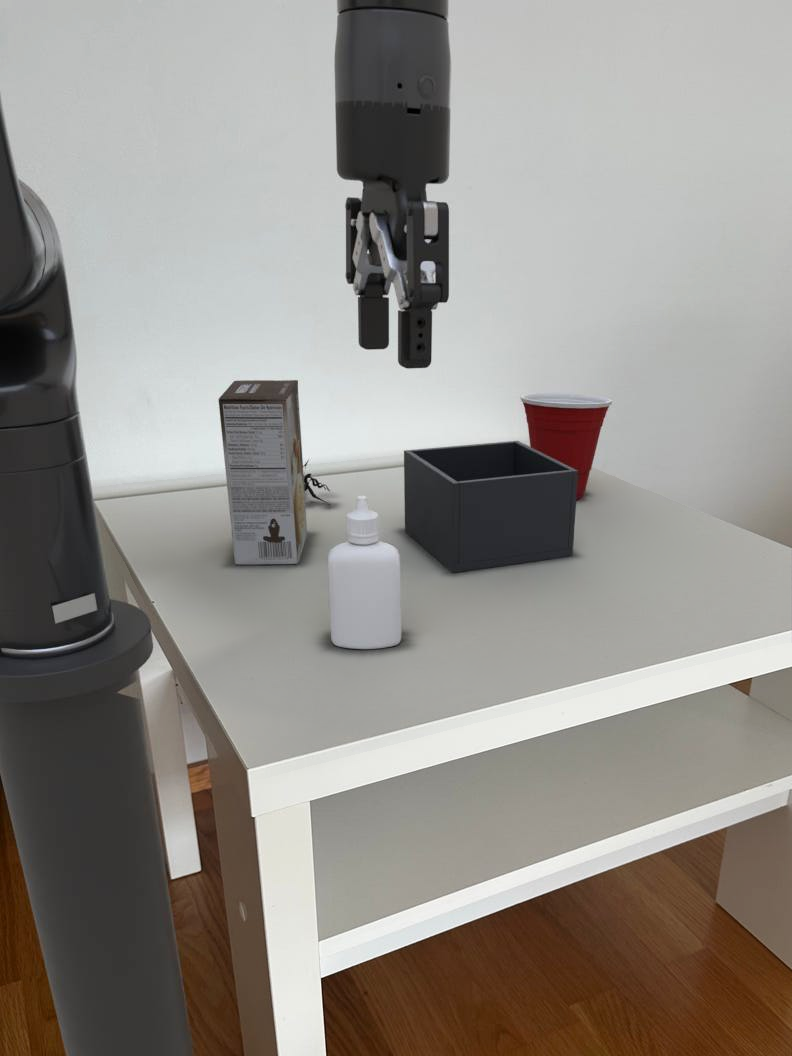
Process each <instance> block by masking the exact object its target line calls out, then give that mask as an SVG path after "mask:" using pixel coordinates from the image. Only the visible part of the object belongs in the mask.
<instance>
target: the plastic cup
mask: <svg viewBox="0 0 792 1056" xmlns="http://www.w3.org/2000/svg"><path fill="white" fill-rule="evenodd" d="M519 398H520V401H521V402H522V404H523V407H524V413H525V416H526V417H525V418H526V423H527V428H528V429H527V431H528V437H529V438H528V439H529V447H531V448H533V449H535V450H537V451H539V452H541V453H543V454H545V455H547V456H549V457H551V458H553V459H555V460H557V461H559V462H561V463H563V464H565V465H567V466H569V467H571V468H573V469H575V470H577V471H578V483H577V497H576V501H577V500H581V499H582V498H583V497H584V494H585V492H586V490H587V486H588V481H589V477H590V472H591V470H592V467H593V463H594V459H595V455H596V452H597V451H596V450H597V446H598V442H599V438H600V434H601V430H602V427H603V425H604V421H605V418H606V416H607V411H608V410H609V409H610V406H611V405H613V400H612V399H611V398H607V397H602V396H597V395H589V394H580V393H579V394H577V393H557V392H555V393H554V392H543V393H542V392H540V393H538V392H536V393H525V394H522V395H519Z"/></svg>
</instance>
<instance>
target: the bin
mask: <svg viewBox="0 0 792 1056" xmlns="http://www.w3.org/2000/svg"><path fill="white" fill-rule="evenodd" d="M403 478H404V479H403V486H404V488H403V491H404V493H403V494H404V532H405V533H406V534H407V535H409V536H410V537H411V538H412V539H413V540H414V541H416V542H417V543H418V544H419V545H420V546H421V547H422V548H424V549H425V550H426V551H427V552H428V553H429V554H430V555H432V556H433V557H434V558H435V559H436V560H438V561H439V562H440V563H441V564H442V565H443V566H444V567H446V568H447V570H449V571H450V572H452V573H453V574H454V573H455V574H456V573H462V572H469V571H475V570H483V569H488V568H490V569H491V568H496V567H503V566H510V565H519V564H524V563H531V562H538V561H539V562H540V561H545V560H553V559H558V558H559V559H560V558H566V557H573V554H574V549H573V548H574V538H575V524H576V511H577V500H576V497H577V483H578V471H577V470H575V469H573V468H571V467H569V466H567V465H565V464H563V463H561V462H559V461H557V460H555V459H553V458H551V457H549V456H547V455H545V454H543V453H541V452H539V451H537V450H535V449H533V448H531V447H530V445H528V444H526V443H523V442H522V441H520V440H510V441H498V442H488V443H485V442H484V443H473V444H463V445H462V444H461V445H452V446H439V447H428V448H427V447H426V448H417V449H406V450H403Z"/></svg>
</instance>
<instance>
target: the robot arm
mask: <svg viewBox="0 0 792 1056" xmlns="http://www.w3.org/2000/svg"><path fill="white" fill-rule="evenodd" d="M449 8H450V0H336V13H337V16H336V35H335V45H334V61H333V62H334V66H333V67H334V101H335V102H334V103H335V104H334V106H335V146H336V149H335V150H336V172H337V174H338V176H339V177H340V178H341V179H343V180H345V181H355V182H357V181H358V182H361V183H362V192H361V194H362V195H361V197H349V196H348V197H347V198H346V200H345V203H344V205H345V206H344V208H345V279H346V283H347V284H348V285H352V289H353V292H354V295H355V296H357V322H358V323H357V324H358V325H357V328H358V329H357V330H358V331H357V333H358V335H357V336H358V345H359V347H360V348H362V349H364V350H367V351H369V350H370V351H371V350H386V349H388V347H389V345H390V298H389V293H390V290H391V286H392V284H393V288H394V292H395V296H396V301H397V305H398V308H399V309H398V310H397V363H398V364H399V366H401V367H403V368H405V369H407V370H409V369H426V368H429V367H430V366H431V364H432V349H433V348H432V347H433V346H432V345H433V342H432V341H433V310H437V308H438V305H439V304H442V303H443V304H444V303H445V304H446V303H447V302H448V300H449V298H450V208H449V204H448V203H447V202H446V201H435V200H428V197H427V190H426V188H427V185H442V184H444V183H446V182H447V181H448V180H449V177H450V155H451V154H450V153H451V151H450V149H451V108H452V107H451V106H452V53H451V43H450V33H449V32H450V31H449V30H450V27H449V26H450V25H449V17H450V16H449V15H450V14H449V13H450V12H449V11H450V10H449ZM59 235H60V234H59V231H58V228H57V226H56V223H55V220H54V218H53V216H52V214H51V213H50V211H49V209H48V207H47V205H46V204H45V203H44V201H43V199H42V198H41V197H40V196H39V195H38V193H36V192H35V191H34V190H33V188H31V187H30V185H28V184H26V183H25V182H24V181H22V180H21V179H20V178H19V176H18V174H17V169H16V163H15V160H14V156H13V152H12V146H11V144H10V138H9V133H8V129H7V123H6V117H5V113H4V108H3V101H2V95H1V92H0V657H9V658H16V659H41V658H51V657H57V656H63V655H67V654H71V653H75V652H78V651H81V650H84V649H87V648H90V647H92V646H94V645H96V644H98V643H100V642H102V641H103V640H105V639H106V638H107V637H108V636H110V635H111V633H112V632H113V631H114V628H115V622H114V616H113V613H112V612H111V601H110V599H111V598H110V594H109V588H108V587H109V586H108V581H107V575H106V574H107V573H106V568H105V561H104V556H103V555H104V554H103V550H102V543H101V537H100V531H99V524H98V518H97V513H96V506H95V499H94V494H93V488H92V482H91V475H90V469H89V462H88V457H87V450H86V444H85V438H84V437H85V436H84V431H83V424H82V419H81V413H80V404H79V398H78V390H77V373H78V368H77V367H78V355H77V353H78V352H77V346H76V345H77V344H76V338H75V330H74V323H73V316H72V315H73V314H72V308H71V301H70V300H71V299H70V293H69V285H68V279H67V272H66V265H65V259H64V258H65V257H64V253H63V248H62V242H61V240H60V236H59ZM434 277H435V278H434Z"/></svg>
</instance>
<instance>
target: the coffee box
mask: <svg viewBox="0 0 792 1056" xmlns="http://www.w3.org/2000/svg"><path fill="white" fill-rule="evenodd" d="M218 409H219V410H218V411H219V420H220V428H221V429H220V430H221V438H222V449H223V459H224V467H225V479H226V489H227V500H228V508H229V518H230V519H229V521H230V527H231V528H230V529H231V539H232V549H233V557H234V558H233V559H234V564H235V565H239V566H241V565H243V566H244V565H245V566H246V565H247V566H249V565H250V566H251V565H252V566H253V565H298V564H299V563H300V559H301V556H302V553H303V549H304V546H305V543H306V540H307V536H308V523H307V508H306V507H307V506H306V505H307V504H305V503H306V493H305V492H306V491H305V489H304V476H305V473H304V467H303V466H304V464H303V463H304V461H303V446H302V429H301V415H300V399H299V380H298V379H290V380H288V379H287V380H286V379H283V380H276V379H275V380H271V379H267V380H266V379H265V380H263V379H262V380H261V379H260V380H259V379H255V380H244V379H243V380H233V382H232V383H231V384H230V385H229V386H228V387H227V389H226V390H225V391H224V392H223V393H222V394H221V395H220V396H219V397H218Z"/></svg>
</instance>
